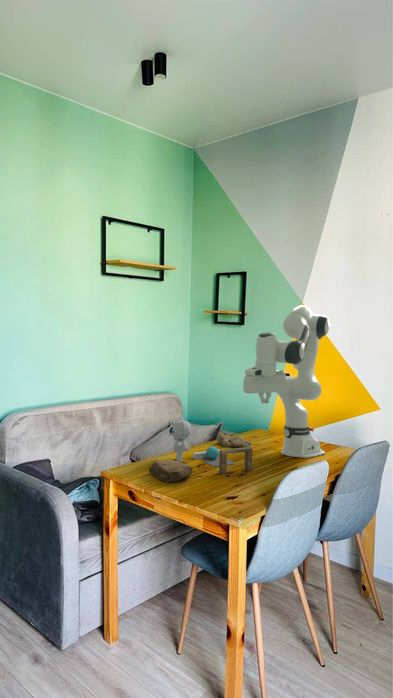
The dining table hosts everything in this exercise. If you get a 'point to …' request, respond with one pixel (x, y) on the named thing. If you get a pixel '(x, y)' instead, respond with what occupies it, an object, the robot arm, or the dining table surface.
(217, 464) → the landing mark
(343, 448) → the dining table surface
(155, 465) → the rock
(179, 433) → the toy
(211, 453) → the ball
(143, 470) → the dining table surface
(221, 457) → the bridge
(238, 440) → the figurine
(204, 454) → the white long bar
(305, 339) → the robot arm
